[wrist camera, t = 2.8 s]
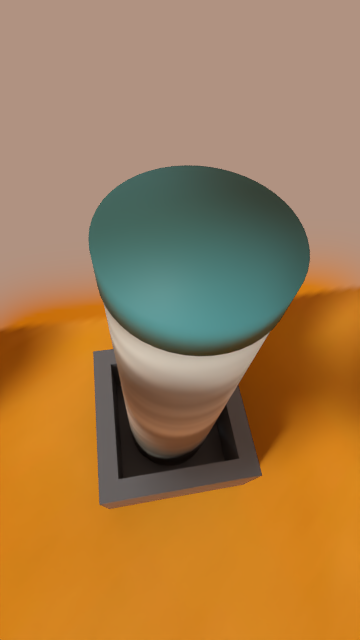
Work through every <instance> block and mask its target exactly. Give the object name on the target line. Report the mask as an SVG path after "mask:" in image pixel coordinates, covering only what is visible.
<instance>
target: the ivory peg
mask: <svg viewBox="0 0 360 640" xmlns="http://www.w3.org/2000/svg"><path fill="white" fill-rule="evenodd" d="M89 250H90V254H91V259H92V263H93V268H94V272H95V277H96V281H97V286H98V289H99V293H100V296H101V298H102V300H103V302H104V306H105V311H106V316H107V321H108V325H109V330H110V335H111V339H112V344H113V349H114V353H115V358H116V363H117V368H118V372H119V377H120V382H121V386H122V391H123V396H124V400H125V405H126V410H127V415H128V419H129V424H130V429H131V433H132V437H133V441H134V443H135V445H136V447H137V449H138V450H139V451H140V453H141V454H142V455H143V456H144V457H146V458H147V459H149V460H150V461H152V462H154V463H157V464H161V465H176V464H180V463H183V462H185V461H187V460H188V459H190V458H191V457H192V456H193V455H194V454H196V452H197V451H198V450H199V448H200V447H201V445H202V443H203V442H204V440H205V438H206V437H207V435H208V433H209V432H210V430H211V428H212V427H213V425H214V424H215V422H216V420H217V419H218V417H219V415H220V414H221V412H222V410H223V409H224V407H225V405H226V404H227V402H228V400H229V399H230V397H231V395H232V394H233V392H234V390H235V389H236V387H237V385H238V384H239V382H240V381H241V379H242V377H243V376H244V374H245V372H246V371H247V369H248V367H249V366H250V364H251V362H252V361H253V359H254V357H255V356H256V354H257V352H258V351H259V349H260V347H261V346H262V344H263V342H264V341H265V339H266V338H267V336H268V334H269V333H270V331H271V330H272V329H273V328H274V327H275V326H276V325H277V323H278V322H279V321H280V319H281V318H282V316H283V315H284V313H285V311H286V310H287V308H288V307H289V305H290V303H291V302H292V300H293V298H294V297H295V295H296V294H297V292H298V290H299V289H300V287H301V285H302V284H303V282H304V280H305V277H306V274H307V272H308V267H309V261H310V250H309V244H308V239H307V236H306V233H305V231H304V228H303V226H302V224H301V222H300V221H299V219H298V217H297V216H296V215H295V213H294V212H293V210H292V209H291V208H290V207H289V206H288V205H287V204H286V203H285V202H284V201H283V200H282V199H281V198H280V197H278V196H277V195H276V194H275V193H273V192H272V191H271V190H269V189H268V188H266V187H265V186H263V185H261V184H259V183H258V182H256V181H254V180H251V179H249V178H247V177H245V176H242V175H239V174H236V173H233V172H230V171H226V170H222V169H218V168H212V167H204V166H171V167H165V168H159V169H155V170H151V171H148V172H145V173H142V174H139V175H137V176H135V177H133V178H131V179H128V180H127V181H125V182H123V183H122V184H120V185H119V186H117V187H116V188H115V189H114V190H112V191H111V192H110V193H109V194H108V195H107V196H106V197H105V198H104V199H103V201H102V202H101V203H100V205H99V206H98V208H97V209H96V212H95V214H94V216H93V218H92V221H91V226H90V228H89Z"/></svg>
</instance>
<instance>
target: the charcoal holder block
mask: <svg viewBox="0 0 360 640" xmlns="http://www.w3.org/2000/svg"><path fill="white" fill-rule="evenodd" d="M93 355H94V379H95V404H96V429H97V453H98V478H99V503H100V505H102V506H104V507H106V508H108V509H111V508H117V507H122V506H128V505H133V504H139V503H144V502H150V501H155V500H161V499H166V498H172V497H177V496H183V495H188V494H193V493H199V492H204V491H210V490H215V489H221V488H226V487H232V486H237V485H243V484H245V483H247V482H249V481H251V480H254V479H256V478H258V477H260V476H262V473H261V469H260V465H259V462H258V458H257V454H256V450H255V447H254V443H253V439H252V435H251V432H250V428H249V424H248V420H247V416H246V413H245V409H244V405H243V401H242V398H241V394H240V390H239V386H238V385H237V387H236V389H235V390H234V392H233V394H232V395H231V397H230V399H229V400H228V402H227V404H226V405H225V407H224V409H223V410H222V412H221V414H220V415H219V417H218V419H217V420H216V422H215V424H214V425H213V427H212V428H211V430H210V432H209V433H208V435H207V437H206V438H205V440H204V442H203V443H202V445H201V447H200V448H199V450H198V451H197V452H196V454H194V455H193V456H192V457H191V458H190V459H188V460H187V461H185V462H183V463H180V464H176V465H161V464H157V463H154V462H152V461H150V460H149V459H147V458H146V457H144V456H143V455H142V454H141V453H140V451H139V450H138V449H137V447H136V445H135V443H134V441H133V437H132V433H131V429H130V424H129V419H128V415H127V410H126V405H125V400H124V396H123V391H122V386H121V382H120V377H119V372H118V368H117V363H116V358H115V353H114V349H111V350H103V351H94V352H93Z"/></svg>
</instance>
